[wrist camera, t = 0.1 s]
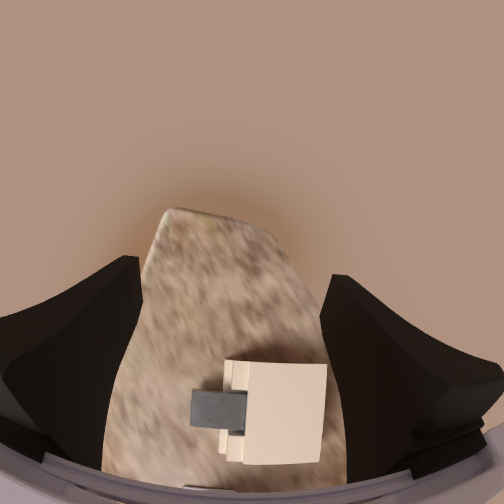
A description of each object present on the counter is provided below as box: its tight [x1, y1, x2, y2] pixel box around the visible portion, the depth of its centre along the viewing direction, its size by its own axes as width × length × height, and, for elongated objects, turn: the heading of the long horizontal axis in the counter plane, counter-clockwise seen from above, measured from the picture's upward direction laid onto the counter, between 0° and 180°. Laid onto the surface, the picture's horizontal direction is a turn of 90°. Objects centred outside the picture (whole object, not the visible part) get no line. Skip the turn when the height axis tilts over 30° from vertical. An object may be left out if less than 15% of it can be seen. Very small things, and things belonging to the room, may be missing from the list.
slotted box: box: [218, 360, 327, 465], centre depth 35 cm, size 13×14×6 cm
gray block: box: [190, 388, 248, 430], centre depth 35 cm, size 5×12×2 cm, turn 86°
